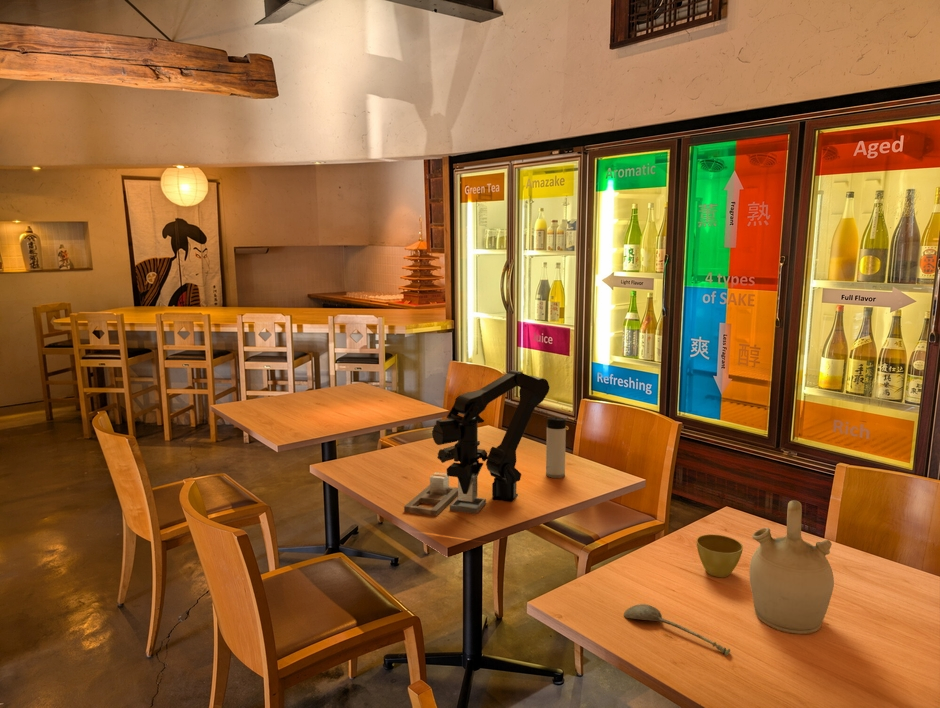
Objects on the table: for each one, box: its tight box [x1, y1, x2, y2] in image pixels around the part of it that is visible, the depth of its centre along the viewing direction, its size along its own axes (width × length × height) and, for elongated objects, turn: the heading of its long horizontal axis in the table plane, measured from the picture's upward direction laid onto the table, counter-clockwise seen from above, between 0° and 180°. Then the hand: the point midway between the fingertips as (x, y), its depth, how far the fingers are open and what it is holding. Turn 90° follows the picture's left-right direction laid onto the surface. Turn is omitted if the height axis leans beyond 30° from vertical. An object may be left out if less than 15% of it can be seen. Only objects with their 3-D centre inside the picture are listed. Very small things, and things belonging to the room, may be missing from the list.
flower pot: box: [696, 533, 744, 578], centre depth 152 cm, size 10×10×7 cm
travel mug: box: [545, 416, 567, 479], centre depth 217 cm, size 6×7×20 cm
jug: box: [749, 499, 835, 635], centre depth 131 cm, size 15×16×25 cm
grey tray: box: [449, 497, 487, 515], centre depth 191 cm, size 8×8×2 cm
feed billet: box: [457, 473, 478, 502], centre depth 190 cm, size 4×4×7 cm
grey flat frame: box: [403, 484, 458, 517], centre depth 194 cm, size 10×19×2 cm, turn 160°
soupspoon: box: [623, 603, 731, 657], centre depth 129 cm, size 22×3×7 cm
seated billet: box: [429, 472, 450, 496], centre depth 199 cm, size 4×4×7 cm
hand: (467, 490), depth 190 cm, fingers closed on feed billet, 4 cm apart
